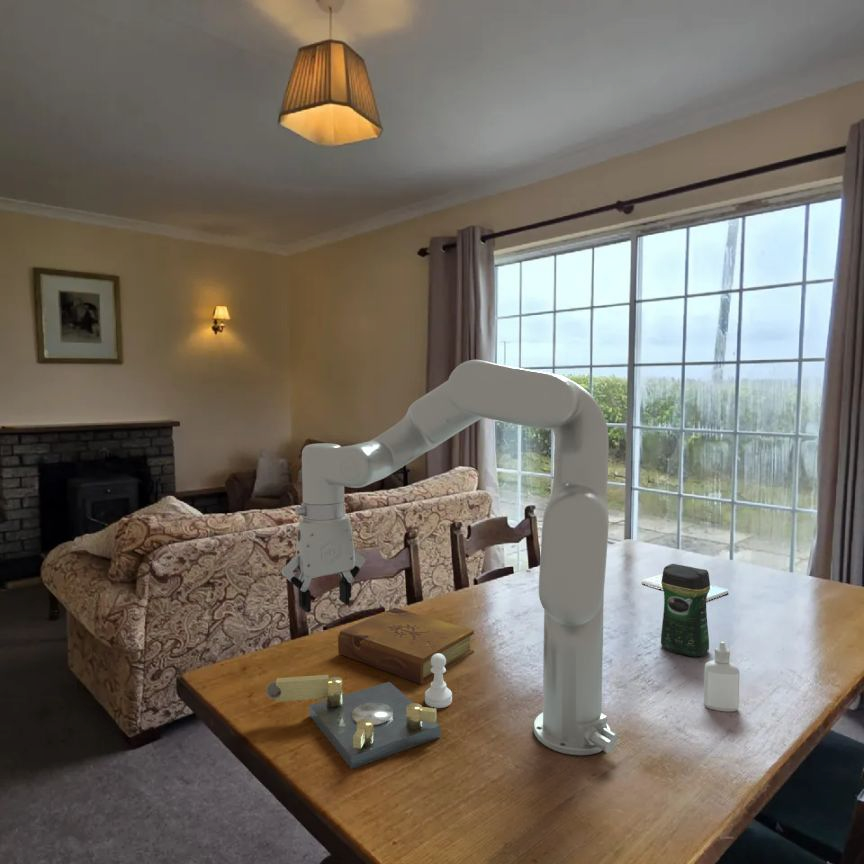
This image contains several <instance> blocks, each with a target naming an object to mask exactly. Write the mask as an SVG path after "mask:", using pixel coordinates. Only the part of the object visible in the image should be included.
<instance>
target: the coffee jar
mask: <svg viewBox="0 0 864 864" xmlns="http://www.w3.org/2000/svg"><path fill="white" fill-rule="evenodd" d="M662 574H663V576H662V581H661V583H662V587H663V590H664V591H663V602H664V603H663V614H662V615H663V616H662V625H661V633H660V645H661V646H662V648H663V649H665V650H668V651H670V652H673V653H678V654H681V655H684V656H688V657H693V658H695V657H701V656H705V655H706V654H707V653H708V652H709V649H710V637H709V627H708V615H707V613H708V612H707V602H706V600H707V594H708V592H709V590H710V584H711V583H710V574H709V572H708V570H707V569H703V568H697V567H694V566H693V567H692V566H687V565H682V564H677V563H670V564H668V565H666V566H664V568H663V571H662Z"/></svg>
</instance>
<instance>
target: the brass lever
mask: <svg viewBox="0 0 864 864" xmlns="http://www.w3.org/2000/svg"><path fill="white" fill-rule="evenodd" d="M265 691H266V695H267V697H269V699H271V700H272V699H273V700H275V702H276V703H279V702H280V703H283V702H294V701H295V702H296V701H309V700H319V699H320V700H321V699H326V700H327V705H328V706H331V707H335V706H339V705H341V704H342V703H343V695H344V693H343V679H342V678H341V677H340V676H331V677H330V676H329V674H319V675H318V674H317V675H305V676H304V675H303V676H301V675H300V676H290V677H289V676H288V677H277V678H276V680H275V681H271V682H270V683H269V684H268V685H267V687H266V690H265Z"/></svg>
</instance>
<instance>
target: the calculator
mask: <svg viewBox="0 0 864 864" xmlns="http://www.w3.org/2000/svg"><path fill="white" fill-rule="evenodd" d="M662 576H663V573H661V574H658V575H653V576H651V577H648V578H645V579H642V580H641V584H642V583H643V584H646V585H650V586H653V587H657V588H660V589H663V587H662V583H661V581H662ZM643 584H642V585H643ZM646 585H645V586H646ZM727 593H728V594H729V589H727V588H725V587H721V586H718V585H714V584H711V583H710V590H709V592H708V594H707V600H706V601H707V602H710V601H712V600H711V599H713V600H715V599H714V598H716V599H718V598H720V597H719V596H721V597H723V596H722V595H724V596H726V595H725V594H727ZM728 594H727V595H728ZM717 597H718V598H717ZM709 600H710V601H709Z"/></svg>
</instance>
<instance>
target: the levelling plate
mask: <svg viewBox="0 0 864 864" xmlns="http://www.w3.org/2000/svg"><path fill="white" fill-rule="evenodd" d="M308 708H309V709H308V710H309V711H308V713H309V715H310V716H309V718H310V719H311V718H312V719H313V720H314V721H313V720H312V719H311V720H312V721H313V723H314V724H315V723H316V724H317V725H316V724H315V725H316V726H317V727H318V729H319V728H320V729H319V730H320V731H321V733H323V735H324V736H325V738H326V737H327V738H326V739H327V740H328V741H329V742H331V743H330V744H331V745H332V746H333V748H334V747H335V748H334V749H335V750H336V752H337V753H338V752H339V753H338V754H339V755H340V756H341V758H342V759H343V760H344V762H346V764H347V766H348V767H349V766H350V767H349V768H350V769H351V770H354V769H356V768H359V767H362V766H364V765H367V764H371V763H374V762H376V761H379V760H382V759H384V758H386V757H389V756H392V755H395V754H398V753H401V752H404V751H406V750H409V749H411V748H415V747H417V746H420V745H422V744H426V743H428V742H432V741H434V740H436V739H439V738H441V725H440V724H439V723H438V722H437V709H438V708H433V707H427V706H426V707H425V706H422V705H421V704H419V703H417V702H416V703H415V702H414V701H412V700H411V699H410V698H409V697H407V695H406V694H404V693H403V692H402V691H401V690H400V689H398V687H396V686H395V685H394V684H392V683H391V682H390V681H388V682H383V683H380V684H377V685H373V686H371V687H370V686H369V687H367V688H366V687H365V688H363V689H359V690H356V691H352V692H350V693H346V694H343V703H342V704H341V705H339V706H335V707H331V706H328V705H327V699H325V700H322V701H318V702H315V703H312V704H308Z"/></svg>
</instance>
